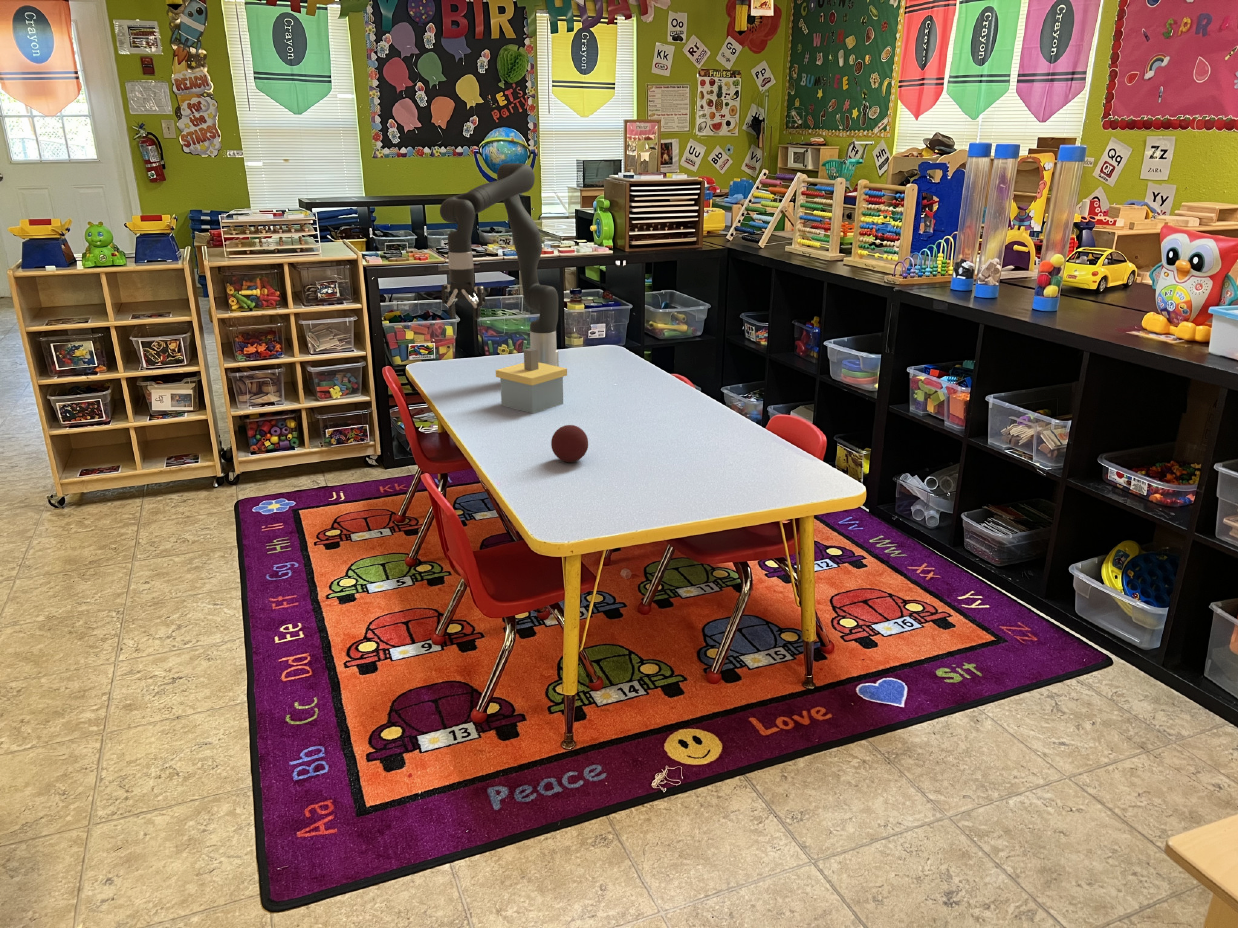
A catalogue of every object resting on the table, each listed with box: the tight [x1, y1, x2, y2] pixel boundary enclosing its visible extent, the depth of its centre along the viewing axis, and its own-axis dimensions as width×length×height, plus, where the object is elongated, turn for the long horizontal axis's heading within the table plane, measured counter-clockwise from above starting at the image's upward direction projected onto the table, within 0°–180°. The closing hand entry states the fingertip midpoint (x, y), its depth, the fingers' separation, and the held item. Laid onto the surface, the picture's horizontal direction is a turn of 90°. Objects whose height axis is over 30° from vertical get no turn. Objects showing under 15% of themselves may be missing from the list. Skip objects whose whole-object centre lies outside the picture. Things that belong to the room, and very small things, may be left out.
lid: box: [495, 347, 568, 385], centre depth 288 cm, size 16×16×9 cm
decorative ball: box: [550, 424, 589, 463], centre depth 241 cm, size 10×10×10 cm
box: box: [499, 376, 564, 414], centre depth 291 cm, size 14×14×11 cm
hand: (464, 318), depth 283 cm, fingers open, 8 cm apart
